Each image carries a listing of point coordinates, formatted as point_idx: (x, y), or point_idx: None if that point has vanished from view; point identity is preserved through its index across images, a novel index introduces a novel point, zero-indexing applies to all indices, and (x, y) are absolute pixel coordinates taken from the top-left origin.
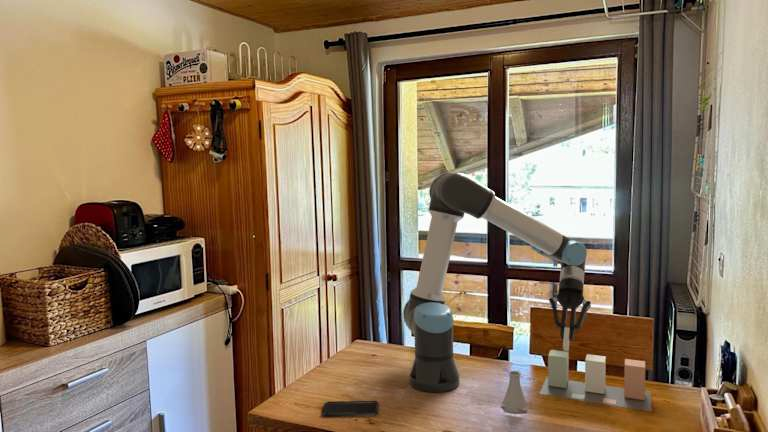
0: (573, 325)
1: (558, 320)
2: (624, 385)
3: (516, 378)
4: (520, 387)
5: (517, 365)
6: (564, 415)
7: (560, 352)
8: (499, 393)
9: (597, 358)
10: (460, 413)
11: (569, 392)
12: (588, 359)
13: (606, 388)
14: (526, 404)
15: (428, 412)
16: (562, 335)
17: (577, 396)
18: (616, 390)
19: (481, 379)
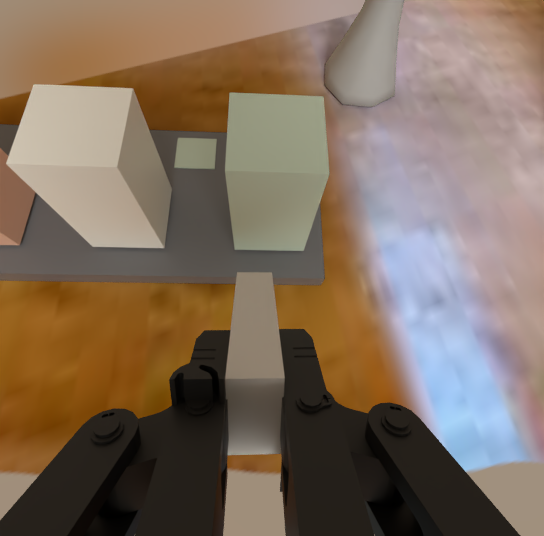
0: (172, 377)
1: (395, 460)
2: (7, 156)
3: None
4: (361, 17)
5: (489, 431)
6: (230, 84)
7: (268, 148)
8: (431, 147)
9: (63, 123)
10: (462, 31)
11: (224, 173)
12: (115, 98)
13: (90, 246)
14: (331, 69)
15: (524, 19)
16: (290, 337)
17: (197, 150)
18: (54, 242)
19: (533, 225)
